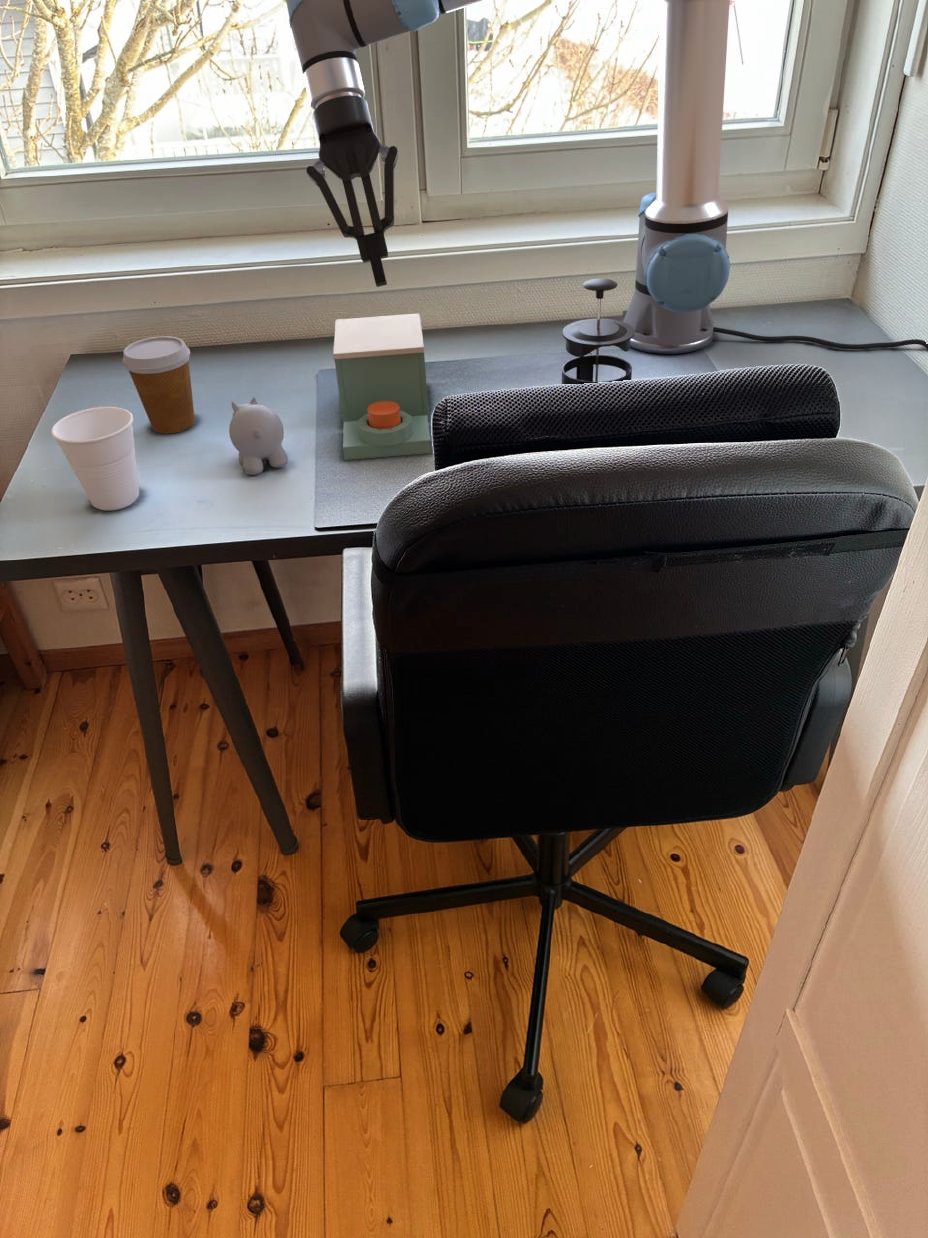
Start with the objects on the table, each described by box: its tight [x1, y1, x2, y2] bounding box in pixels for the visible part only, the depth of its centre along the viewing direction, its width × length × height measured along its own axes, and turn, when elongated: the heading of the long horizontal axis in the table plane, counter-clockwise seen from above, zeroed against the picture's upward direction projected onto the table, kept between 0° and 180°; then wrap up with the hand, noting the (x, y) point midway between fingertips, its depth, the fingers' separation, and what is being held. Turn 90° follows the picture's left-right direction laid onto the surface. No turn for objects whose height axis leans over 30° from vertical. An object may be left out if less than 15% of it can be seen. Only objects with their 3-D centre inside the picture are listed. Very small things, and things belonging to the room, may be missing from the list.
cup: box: [50, 406, 140, 512], centre depth 121 cm, size 10×10×11 cm
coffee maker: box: [334, 351, 430, 426], centre depth 140 cm, size 13×13×11 cm
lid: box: [332, 312, 425, 360], centre depth 136 cm, size 14×13×1 cm
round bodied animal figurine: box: [228, 397, 289, 476], centre depth 129 cm, size 7×12×8 cm, turn 23°
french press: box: [561, 277, 634, 385], centre depth 122 cm, size 12×9×23 cm
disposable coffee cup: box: [121, 335, 196, 434], centre depth 138 cm, size 10×10×12 cm
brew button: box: [367, 401, 401, 429], centre depth 129 cm, size 4×4×2 cm
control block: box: [342, 411, 432, 461], centre depth 132 cm, size 12×9×4 cm
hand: (381, 283), depth 131 cm, fingers closed
